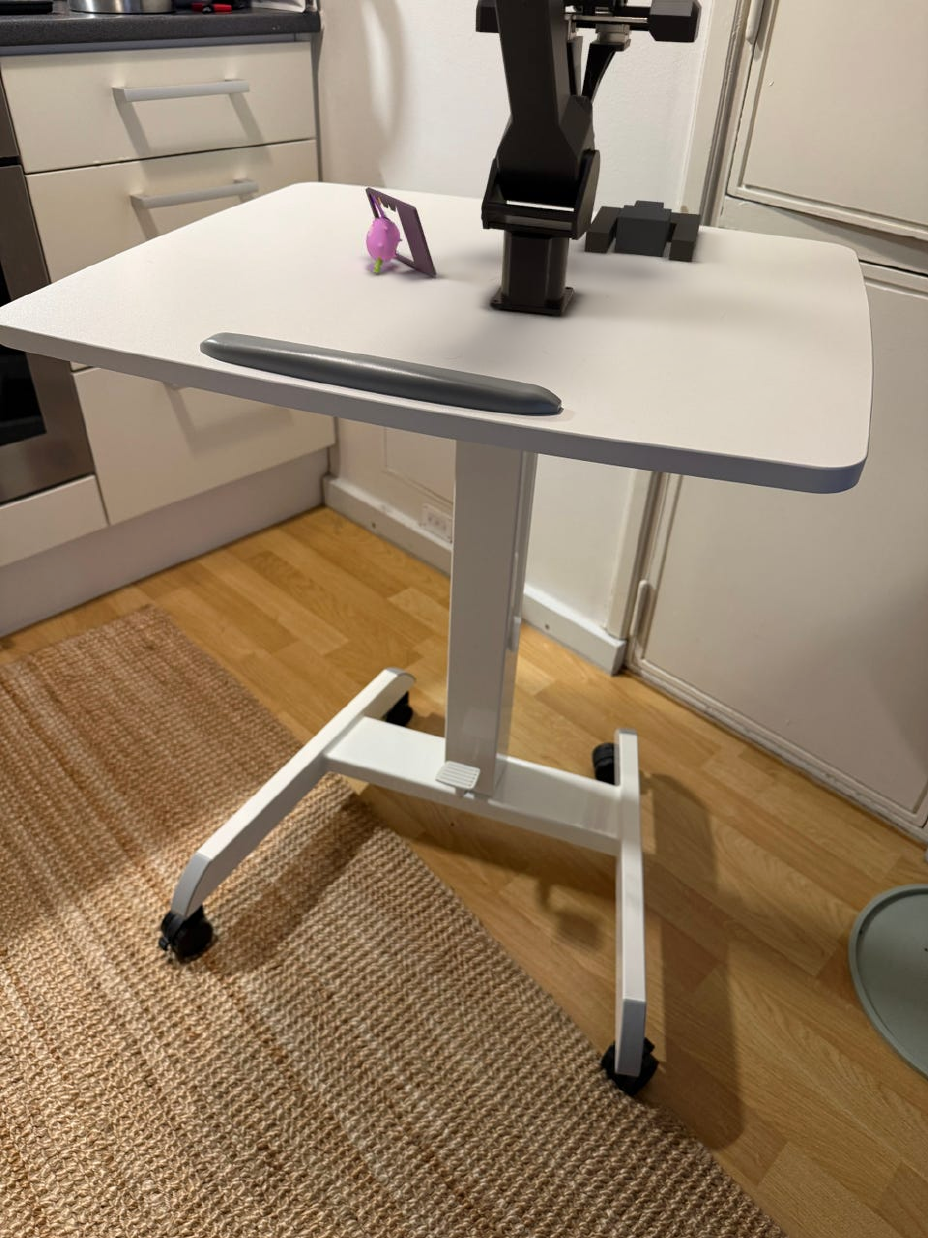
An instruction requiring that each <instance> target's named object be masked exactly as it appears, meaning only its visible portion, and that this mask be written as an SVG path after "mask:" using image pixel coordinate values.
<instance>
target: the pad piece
mask: <svg viewBox="0 0 928 1238" xmlns="http://www.w3.org/2000/svg"><path fill="white" fill-rule="evenodd" d="M622 208H623V209H622V211H621V213H620V215H619V217H618V225H617V233H616V237H615V242H614V253H622V254H632V255H644V256H654V257H663V256H664V253H665V250H666V247H667V243H668V242H667V238H668V232H669V225H670V219H671V212H673V209H672V208H667V207H666V208H665V202H664V201H663V202H662V201H653V200H652V201H651V200H639V199H637V200H636V201H635V204H634V205H630V204H624V205H623V207H622Z"/></svg>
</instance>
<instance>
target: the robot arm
mask: <svg viewBox="0 0 928 1238" xmlns="http://www.w3.org/2000/svg"><path fill="white" fill-rule="evenodd" d="M628 4H629V0H477V3H476V6H475V7H476V8H475V33H482V34H483V33H485V34H498V37H499V44H500V50H501V57H502V64H503V71H504V78H505V84H506V91H507V98H508V99H507V100H508V104H509V112H510V114H509V116H508V119H507V123H506V125H505V128H504V131H503V133H502V136H501V138H500V141H499V144H498V146H497V149H496V152H495V156H494V158H493V159H492V161H491V165H490V170H489V174H488V179H487V184H486V187H485V191H484V195H483V197H482V198H483V199H482V203H481V207H480V210H481V211H480V214H481V215H480V220H481V223H482V229H483V230H486V231H487V230H488V231H489V230H498V231H503V236H502V237H503V238H502V259H501V279H500V281H501V282H500V283H501V284H500V287H499V288H498V289H497V291H496V292H495V293H494V294H493V296H492V297H491V298H490V299H489V307H490V308H495V309H503V310H504V309H505V310H512V311H513V310H514V311H522V312H531V313H539V314H547V315H562V314H563V313H564V312H565V310H566V308H567V306H568V304H569V302H570V300H571V299H572V297H573V295H574V289H575V288H574V287H572V286H567V285H566V284H567V272H568V262H569V261H568V260H569V249H570V239H571V240H572V241H579V240H580V239H581V238H582V237H583V236H584V235H585V234H586V231H587V230H588V229H589V228H590V226H591V223H592V221H593V213H594V208H595V202H596V196H597V191H598V190H597V189H598V185H599V179H600V171H601V151H600V150H599V149H596V144H595V143H596V142H595V138H596V134H595V129H594V115H593V114H594V106H593V103H594V102H595V99H596V96H597V93H598V91H599V88H600V85H601V83H602V80H603V79H604V77H605V74H606V72H607V70H608V68H609V66H610V64H611V62H612V60H613V58H614V57H615V55H616V53H624V52H625V51H626V50H627V49H628V48H629V47H630V46H631V44H632V39H631V38H630V35H631V34H632V33H633V32H648V33H649V34H650V36H651V37H652V38H653V40H654V41H655V42H658V43H659V42H661V43H677V44H678V43H679V44H694V43H695V42H696V40H698V37H699V31H700V24H701V20H702V19H701V17H702V9H703V7H702V5H701V4H700V1H699V0H651V3H650V6H649V5H628ZM570 7H572V9H573V11H568V10H567V8H570ZM580 29H588V30H594V34H595V35H596V39H594V40H593V41H591V42H589V45H588V51H587V56H586V63H585V69H584V75H583V82H582V54H583V44H584V36H583V35H578V34H577V33H578V32H579V31H580ZM508 202H510V203H508ZM513 203H519V204H513ZM521 204H522V205H521ZM523 204H528V205H523ZM531 205H532V206H531ZM533 205H538V206H533ZM540 206H548V207H540ZM549 207H554V208H549ZM555 207H556V208H555ZM558 208H564V209H558ZM566 209H571V210H566ZM572 209H573V210H572Z"/></svg>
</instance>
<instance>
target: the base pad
mask: <svg viewBox="0 0 928 1238" xmlns="http://www.w3.org/2000/svg"><path fill="white" fill-rule="evenodd" d="M622 209H623V207H619V206H608V205H601V206H600V208H599V209H598V211H597V213H596V214H595V216H594V218H593V219H592V220H591V226H590V228H589V229H588V230H587V231H586V232H585V238H584V239H585V241H584V249H583V250H584V252H590V253H599V254H607V253H608V250H609V248H610V246H611V244H612V242H613V240H614V238H616V233H617V225H618V217H619V215H620V213H621V211H622ZM701 219H702V214H699V213H687V212H675V211H672V212H671V219H670V225H669V232H668V238H667V243H670V248H669V255H668V260H670V261H679V262H692V260H693V256H694V252H695V249H696V245H697V244H696V243H697V239H698V235H699V231H700V225H701Z"/></svg>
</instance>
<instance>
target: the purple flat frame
mask: <svg viewBox="0 0 928 1238" xmlns="http://www.w3.org/2000/svg"><path fill="white" fill-rule="evenodd" d="M365 194H366V197H367V199H368V202H369V205H370V208H371V211H372V213H373V218H371V219H372V224H371V226H370V227H369V228H368V230H367V233H366V238H365V246H366V250H367V252H368V254H369V256H370V258H371V259H373V260H374V261H376V262H375V265H374V266H373V268H374V270H373V272H374V273H375V274H379V272H380V270H381V267H382V265H383V264H387V263H389V262H390V261H392V260H393V259H397V260H399V261H401V262H403V263H405V264H406V265H408V266H411V267H412V268H414V269H416V270H418V271H420V272H421V273H424V274H426V275H428V276H430V277H432V278H434V277H436V276H437V271H436V267H435V264H434V261H433V257H432V255H431V252H430V248H429V244H428V241H427V238H426V236H425V232H424V228H423V225H422V222H421V219H420V215H419V212H418V209H417V208H416V206H413V205H411V204H409V203H407V202H404V201H403V200H400V199H397V198H395V197H393V196H391V195H388V194H386V193H384V192H381V190H377V189H375V188H372V187H370V186H368V187H367V188H365ZM381 205H382V206H383V207H382V206H381ZM383 208H386V209H390V210H391V211H392V212H397V214H398V217H399V221H400V223H401V227H402V230H403V233H404V235H405V239H406V242H407V245H408V248H409V251H410V254H411V257H412V260H411V259H409V258H407V257H405V256H403V255H401V254H400V253H399V251H398V250H397V249H398V246H399V243H401V242H404V240H403V239H402V238H401V232H400V229H399V228H398V225H396V223H395V222H393V221H392V220H391V219H390V218H389V217H388V215H387V213H386V212H385V210H383Z"/></svg>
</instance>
